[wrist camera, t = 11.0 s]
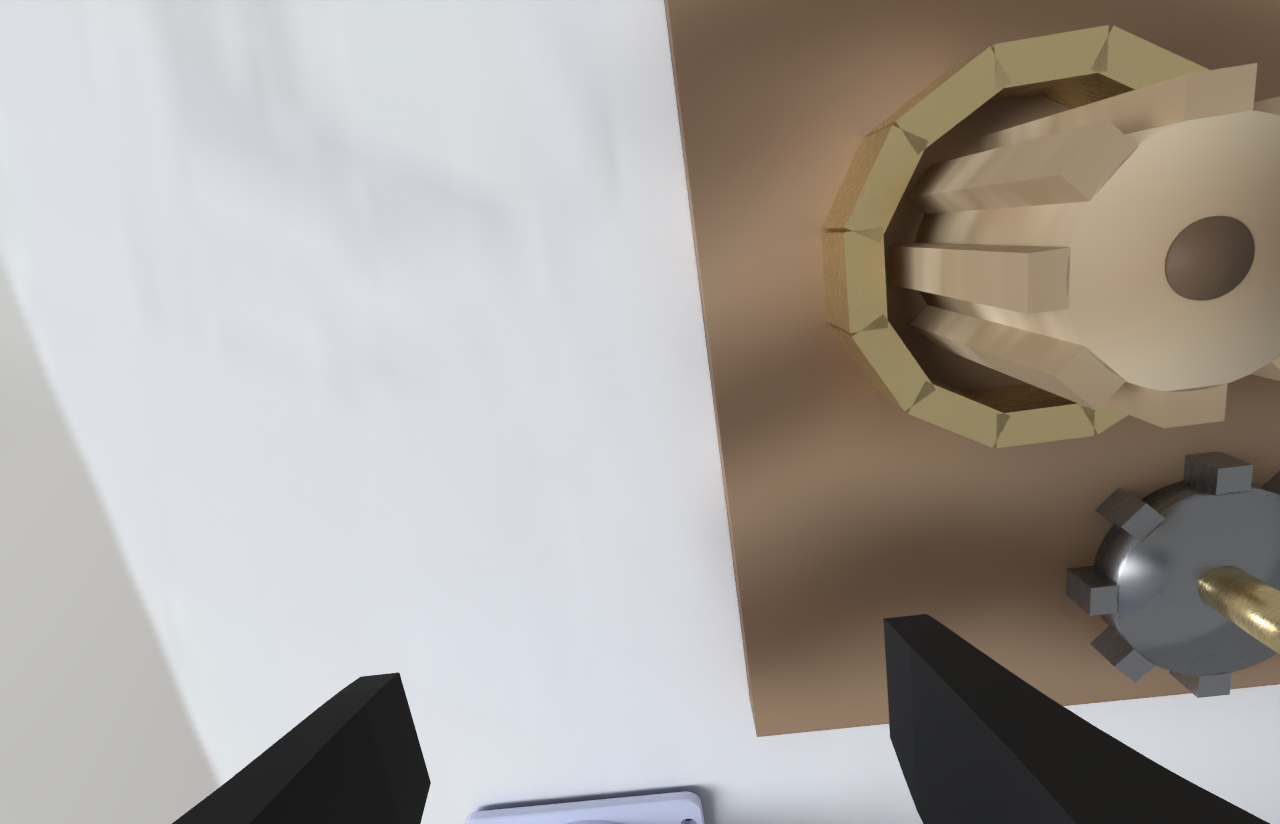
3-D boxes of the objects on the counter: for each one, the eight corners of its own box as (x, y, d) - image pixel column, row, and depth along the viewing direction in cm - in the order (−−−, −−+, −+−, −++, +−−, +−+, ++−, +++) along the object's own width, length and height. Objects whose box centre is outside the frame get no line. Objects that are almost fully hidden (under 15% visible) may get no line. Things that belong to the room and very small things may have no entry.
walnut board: (1282, 645, 19) (1332, 678, 18) (750, 701, 21) (757, 736, 19) (1380, -134, 14) (1462, -176, 13) (663, -6, 15) (664, -31, 14)
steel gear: (1306, 658, 18) (1432, 740, 15) (1064, 684, 18) (1139, 768, 15) (1337, 436, 16) (1485, 480, 13) (1069, 469, 17) (1155, 519, 14)
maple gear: (1107, 341, 16) (1372, 404, 10) (894, 369, 16) (1028, 446, 10) (1116, 115, 14) (1429, 35, 9) (884, 151, 15) (1032, 97, 9)
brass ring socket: (1169, 395, 16) (1238, 417, 14) (835, 438, 17) (858, 465, 15) (1193, 29, 14) (1279, -4, 12) (810, 92, 14) (833, 71, 13)
